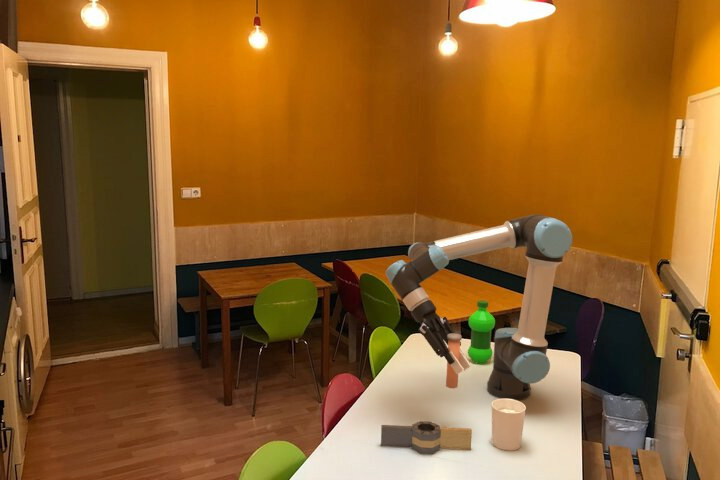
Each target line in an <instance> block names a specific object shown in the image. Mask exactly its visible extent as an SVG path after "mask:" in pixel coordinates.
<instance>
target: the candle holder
mask: <svg viewBox="0 0 720 480" xmlns="http://www.w3.org/2000/svg"><path fill="white" fill-rule="evenodd" d="M490 404H491V443H492V445H493V446H494V447H496V448H497V449H499V450H503V451H516V450H518V449H520V448H521V446H522V441H523V440H522V439H523V434H524V433H523V432H524V423H525V419H526V418H525V416H526V410H527V407H526V404H524V403H523V402H522V401H519V400H513V399H505V398H497V399H494V400H493V401H492V402H491V403H490Z"/></svg>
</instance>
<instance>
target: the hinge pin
mask: <svg viewBox="0 0 720 480" xmlns="http://www.w3.org/2000/svg"><path fill="white" fill-rule="evenodd" d="M447 339H448V345H447V348H448V350H449V352H450V351H452V352H453V354H454V355H455V357H456V358H457V360H458V361H459V353H460V350H461V348H460V347H461V346H460V342H461V341H462V335H461V334H460V333H456V332H455V333H451V334H448V335H447ZM445 380H446V381H445V387H446V388H448V389H457V388H458V386H459V385H458V384H459V374H456V373H455V371H454V370H453V368H452V367H451V365H450V364H449V363H448V362H447V361H446V379H445Z"/></svg>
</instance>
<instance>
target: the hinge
mask: <svg viewBox="0 0 720 480" xmlns="http://www.w3.org/2000/svg"><path fill="white" fill-rule="evenodd" d="M380 427H381V430H380V431H381V432H380V435H381V437H380V447H393V448H395V447H397V448H411V450H413V451H414V452H417V453H418V454H419V455H434V454H435V453H438V452H440V451H441V449H444V450H461V451H462V450H464V451H466V450H468V451H471V450H472V435H473V434H472V433H473V429H472V428H467V427H444V426H443V427H441V425H440V424H437V423H435V422H433V421H430V420H429V421H426V420H424V421H423V420H419V421H417V422H414V423H412V424H411V425H398V424H397V425H395V424H394V425H393V424H381V426H380Z"/></svg>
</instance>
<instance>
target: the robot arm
mask: <svg viewBox="0 0 720 480" xmlns="http://www.w3.org/2000/svg"><path fill="white" fill-rule="evenodd" d="M572 244H573V234H572V232H571V229H570V228H569V226H568V225H567V224H566V223H565V222H564V221H561V220H559V219H558V218H554V217H551V216H546V215H543V214H538V213H537V214H535V213H534V214H529V215H526V216H525V215H524V216H522V217H517V218H514V219H511V220H510V219H509V220H506V221H505V222H504V223H503V224H502V225H497V226H493V227H489V228H484V229H479V230H476V231H472V232H467V233H462V234H459V235H458V234H457V235H455V236H451V237H446V238H442V239H438V240H437V239H436V240H434V241H428V242H418V241H417V242H414V243H413V244H411V245H410V246H409V248H408V251H407V255H408V256H407V257H408V258H409V262H406V261H405V260H403V259H401V260H397V261H396V262H394V263H392V264H390V265H389V266H388V268H387V269H386V270H385V276H386V277H387V279H388V281H389V283H390V286H392V288H393V289H394V291H395V292H396V294H397V295H398V297H399V298H400V299H401V301H402V302H403V303H404V304H403V305H405V306H406V308H407V310H408V311H409V312H410V313H411V314H410V315H411V316H412V318H413V319H414V321H415V322H417V323H419V324H420V327H419V328H418V329H417V330H418V332H419V334H421V335H422V336H423V337H424V339H425V340H426V342H427V343H428V344H429V346H430V347H431V348H432V350H433V351H434V353H435V354H436V356H438V357H440V358H445V360H446V363H447V362H448V363H449V364H450V365H451V367H452V368H453V370H454V371H455V373H456V374H458V375H459V374H460V373H462V372H463V371H466V370H467V369H469V368H470V367H472V366H471V364H470V362H469V361H468V359H467V357H466V356H465V354H464V353H463V351H462V350H461V349H460V353H459V361H458V360H457V358H456V357H455V355H454V354H453V352H452V351H450V352H449V350H448V339H447V335H448V334H451V333H455V334H456V332H455V331H454V329H453V328H452V326H451V325H450V323H449V321H448V318H447V317H446V316H444V317H441V316H440V315H438V314H437V313H436V311H437V307H436V305H435V304H434V303H433V301H432V300H431V299H430V296H429V295H428V294H427V292H426V290H425V288H423V287H422V285H421V283H423V282H424V281H426V280H428V279H429V278H430V277H432V276H433V275H435V274H437V273H438V272H440V271H441V270H443V269H444V268H446V266H448V265H449V262H450V260H451V261H452V260H455V259H460V258H464V257H469V256H474V255H478V254H483V253H486V252H490V251H494V250H499V249H503V248H504V249H505V248H508V247H509V248H510V249H517V248H526V250H525V255H524V257H525V258H526V260H527V261H528V265H527V266H528V268H527V272H526V277H525V278H526V279H525V285H524V290H523V291H524V292H523V296H522V297H523V298H522V303H521V309H520V314H519V321H518V326H517V327H503V328H501V327H500V328H498V329H496V331H495V332H494V333H495V334H494V338H493V339H494V343H493V344H494V345H493V348H494V349H493V363H492V364H493V365H492V367H493V368H492V371H491V373H490V376H489V377H488V381H487V383H486V384H487V386H486V391H487V392H488V393H489V394H491V395H492V396H494V397H496V398H498V399H503V398H505V399H513V400H517V401H519V400H525V399H527V398H529V397H530V396H531V393H532V392H531V389H532V388H531V385H530V384H536V383H538V382H541V381H542V380H543V379H546V377H547V375H548V374H549V372H550V369H551V364H550V363H551V362H550V359H549V357H548V356H547V350H548V344H549V343H548V340H547V339H545V334H546V328H547V322H548V317H549V316H548V315H549V312H550V306H551V300H552V294H553V288H554V282H555V278H556V271H557V267H558V266H559V265H560V264H562V263H563V260H564V255H566V253H568V252H569V251H570V249H571V247H572ZM461 346H462V342H461V341H460V347H461Z"/></svg>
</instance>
